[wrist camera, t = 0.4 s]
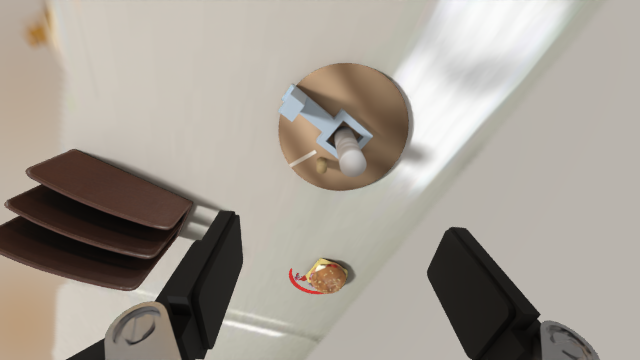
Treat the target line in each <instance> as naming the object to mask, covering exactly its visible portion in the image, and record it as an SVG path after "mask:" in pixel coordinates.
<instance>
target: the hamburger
mask: <svg viewBox="0 0 640 360" xmlns="http://www.w3.org/2000/svg"><path fill="white" fill-rule="evenodd" d="M297 276H299V275H298V273H297V274H296V277H295V280H296V281H299V280H302V281H305V280H307V279H309V280H307V281H308V282H309V286H310V287H312V288H315V290H317V291H311V290H307V289H305V288H303V287H301V286H300V285H298V284H297V283H296V282H295V280H294V278H293V276H292V268H291V269H290V271H289V278H290V281H291V282H292V284H293V285H294V286H295V287H297V288H298V289H300V290H302V291H304V292H307V293H311V294H326V293H327V294H329V293H334V292H337V291H339V290H340V289H341V288H342V287H343V286H344V284H345V282H346V280H347V270H346V269H343V268H342V267H341V266H340V265H339V264H337V263H335V262H329V261H327V260H325V259H322V258H320V259H319V260H318V261H317V263H316V264H315V265H314V267H313V268H312V269H311V270H310V271H309V272H308V274H307V275H305V276H303V277H302V276H301V277H297Z"/></svg>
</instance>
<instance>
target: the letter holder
mask: <svg viewBox="0 0 640 360" xmlns="http://www.w3.org/2000/svg"><path fill="white" fill-rule="evenodd" d="M26 174H27V175H28V176H29V177H30V178H31V179H33V180H35V181H37V182H39V183H41V185H39V186H37V187H35V188H32V189H30V190H29V191H26V192H24V193H22V194H20V195H17V196H15V197H13V198H11V199H9V200H7V201H6V202H5V204H4V205H5V207H6V208H8V209H9V210H11V211H13V212H15V213H16V214H18V215H20V216H18V217H16V218H14V219H12V220H10V221H8V222H6V223H4V224H2V225H0V255H3V256H5V257H7V258H10V259H12V260H14V261H17V262H19V263H22V264H25V265H28V266H30V267H33V268H36V269H39V270H42V271H45V272H48V273H51V274H55V275H58V276H62V277H65V278H69V279H73V280H76V281H80V282H84V283H88V284H93V285H97V286H101V287H106V288H111V289H116V290H122V291H132V290H135V289H136V288H138V287H139V286H140V285H141V284H142V282H143V281H144V280H145V278H146V277H147V276H148V274H149V273H150V272H151V270H152V269H153V268H154V266H155V265H156V264H157V262H158V261H159V260H160V259H161V257H162V256H163V255H164V254H165V252H166V251H167V250H168V248H169V247H170V246H171V245H172V243H173V242H174V241H175V240H176V238H177V237H178V235H179V233H180V230H181V228H182V226H183V224H184V222H185V220H186V217H187V215H188V213H189V211H190V208H191V206H192V204H193V202H191V201H189V200H187V199H185V198H182V197H180V196H178V195H176V194H173V193H171V192H169V191H167V190H165V189H162V188H160V187H158V186H156V185H153V184H151V183H149V182H147V181H145V180H142V179H140V178H138V177H136V176H133V175H131V174H129V173H127V172H124V171H122V170H120V169H118V168H115V167H113V166H111V165H109V164H107V163H104V162H102V161H100V160H97V159H95V158H93V157H91V156H88V155H86V154H84V153H82V152H79V151H77V150H75V149H72V150H69V151H68V152H65V153H63V154H60V155H58V156H56V157H53V158H51V159H48V160H46V161H44V162H41V163H39V164H36V165H34V166H32V167H29V168H28V169H27V170H26Z"/></svg>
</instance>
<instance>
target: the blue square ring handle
mask: <svg viewBox="0 0 640 360" xmlns="http://www.w3.org/2000/svg"><path fill="white" fill-rule="evenodd" d="M281 100H283V101H284V103H283V104H282V106H281V107H280V109H279V110H278V112H279V113H281V114H282V115H283V116H285V117H286V118H287V119H289V120H290V121H291V122H293V120H294V119H295V118H296V116H297V115H298V114H300V115H302V116H303V117H304V118H305V119H307V120H308V121H309V122H310V123H312V124H313V125H314V126H316V127H317V128H318V129H319V130H321V131H322V133H321V134H320V135H319V136H318V137H317V139H316V143H318V144H319V145H320V146H322V147H323V148H324V149H326V150H327V151H328V152H330V153H331V154H332V155H333V156H335V157H336V158H337V159H338V155H337V150H336V146H335V145H333V144H332V143H331V142H330V141H328V140H327V139H328V138H329V137H330V136H331V134H332V133H333V132H334V131H335V130H336V129H337V127H338V126H339V125H340V124H341V123H342V121H343V120H344V121H345V122H346V123H347V124H349V125H350V126H351V127H352V128H353V129H354V130H356V131H357V132H358V133H359V134H360V135H361V136H360V137H359V138H358V139H357V142H358V145H359V147H360V149H362V148H363V147H364V146H365V145H366V143H367V142H368V141H369V140H370V139H371V138H372V137H373V135H372V134H371V133H370V132H369V131H368V130H367V129H366V128H365V127H363V126H362V125H361V124H360V123H359V122H358V121H356V120H355V119H354V118H353V117H352V116H351V115H349V114H348V113H347V112H346V111H345V110H344V109H343V108H342V109H341V110H340V111H339V112H338V113H337V115H336V116H335V117H332V116H331V115H330V114H329V113H328V112H326V111H325V110H324V109H323V108H322V107H320V106H319V105H318V104H317V103H316V102H314V101H313V100H312V99H311V98H310V97H308V96H307V95H306V94H305V93H304V92H302V91H301V90H300V89H299V88H298V87H296V86H295V85H294V84H292V85H291V86H290V88H289V89H288V91H287V92H286V93H285V95H284V96H283V98H282V99H281Z"/></svg>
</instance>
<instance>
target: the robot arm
mask: <svg viewBox="0 0 640 360" xmlns="http://www.w3.org/2000/svg"><path fill="white" fill-rule="evenodd" d="M242 264H243V253H242V241H241V229H240V217H239V215H235V212H234V211H222V210H221V211H220V212H219V213H218V215H217V216H216V218H215V220H214V221H213V223H212V224H211V226H210V228H209V229H208V231H207V232H206V234H205V236H204V237H203V239H202V240H196V241H195V242H194V243H193V244H192V245H191V247H190V248H189V250H188V251H187V253H186V254H185V256H184V258H183V259H182V261H181V262H180V264H179V265H178V267H177V268H176V270H175V271H174V273H173V274H172V276H171V277H170V279H169V280H168V282H167V283H166V285H165V286H164V288H163V289H162V291H161V292H160V294H159V295H158V297H157V299H156V300H155V302H153V301H150V302H143V303H140V304H138V305H135V306H133V307H131V308H129V309H128V310H126V311H124V312H123V313H122V314H121V315H119V316H118V317H117V318H116V319H115V320H114V321H113V323H112V324H111V325H110V326H109V328H108V330H107V332H106V334H105V338H104V339H102V340H100V341H99V342H97V343H95V344H93V345H91V346H90V347H88V348H86V349H84V350H82V351H81V352H79V353H77V354H75V355H74V356H72V357H70V358H68V359H66V360H195V359H204V358H205V355H206V353H207V350H208V349H212V348H213V347H214V344H215V342H216V339H217V336H218V333H219V330H220V327H221V325H222V322H223V319H224V316H225V313H226V310H227V308H228V305H229V302H230V299H231V296H232V293H233V291H234V288H235V285H236V282H237V279H238V276H239V274H240V271H241V268H242ZM427 276H428V279H429V281H430V283H431V285H432V287H433V289H434V291H435V293H436V295H437V297H438V298H439V300H440V302H441V305H442V307H443V309H444V311H445V313H446V315H447V317H448V318H449V320H450V323H451V325H452V327H453V329H454V331H455V333H456V335H457V337H458V339H459V341H460V343H461V345H462V347H463V349H464V351H465V353H466V354H467V356H468V357H469V358H470V359H472V360H600V359H599V357H598V355H597V353H596V352H595V350H594V349H593V348H592V346H591V345H590V344H589V343H588V342H587V341H586V340H585V339H584V338H583V337H581V336H580V335H579V334H577V333H576V332H575V331H573V330H572V329H570V328H568V327H566V326H565V325H562V324H560V323H558V322H554V321H544V322H542V323H540V322H539V320H537V318H538V317H539V316H540V313H539V312H538V311H537V310H536V309H535V308H534V306H533V305H532V304H531V303H530V302H529V301H528V299H527V298H526V297H525V296H524V295H523V294H522V292H521V291H520V290H519V289H518V288H517V287H516V286H515V284H514V283H513V282H512V281H511V280H510V279H509V277H508V276H507V275H506V274H505V273H504V272H503V270H502V269H501V268H500V267H499V266H498V265H497V264H496V262H495V261H494V260H493V259H492V258H491V257H490V255H489V254H488V253H487V252H486V251H485V250H484V248H483V247H482V246H481V245H480V244H479V243H478V242H477V240H476V239H475V238H474V237H473V236H472V235H471V233H470V232H469V231H468V230H467V229H466V228H459V227H451V228H449V230H447V231H445V233H444V236H443V238H442V240H441V242H440V244H439V246H438V248H437V251H436V253H435V255H434V257H433V259H432V261H431V263H430V266H429V268H428V270H427Z"/></svg>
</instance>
